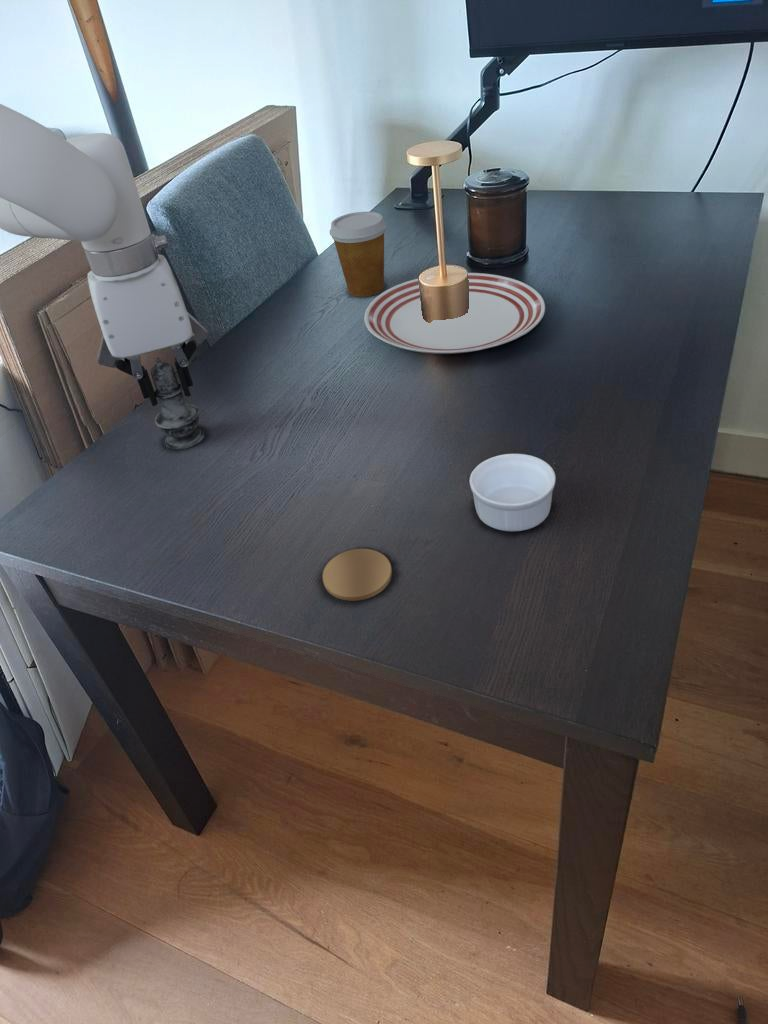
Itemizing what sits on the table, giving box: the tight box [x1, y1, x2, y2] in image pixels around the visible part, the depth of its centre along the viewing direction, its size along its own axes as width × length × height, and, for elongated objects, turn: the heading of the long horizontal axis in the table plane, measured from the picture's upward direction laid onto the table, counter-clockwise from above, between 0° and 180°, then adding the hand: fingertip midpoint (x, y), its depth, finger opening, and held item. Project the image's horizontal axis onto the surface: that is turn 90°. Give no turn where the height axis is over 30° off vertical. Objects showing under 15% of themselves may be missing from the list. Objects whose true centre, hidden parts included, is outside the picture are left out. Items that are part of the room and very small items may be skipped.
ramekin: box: [469, 453, 557, 532], centre depth 80 cm, size 9×9×4 cm
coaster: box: [322, 548, 393, 602], centre depth 76 cm, size 7×7×1 cm
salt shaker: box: [150, 357, 205, 451], centre depth 98 cm, size 6×6×12 cm
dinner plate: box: [363, 272, 546, 355], centre depth 117 cm, size 28×27×3 cm
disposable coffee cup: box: [329, 211, 387, 298], centre depth 129 cm, size 10×10×12 cm
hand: (170, 395), depth 97 cm, fingers closed on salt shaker, 3 cm apart
